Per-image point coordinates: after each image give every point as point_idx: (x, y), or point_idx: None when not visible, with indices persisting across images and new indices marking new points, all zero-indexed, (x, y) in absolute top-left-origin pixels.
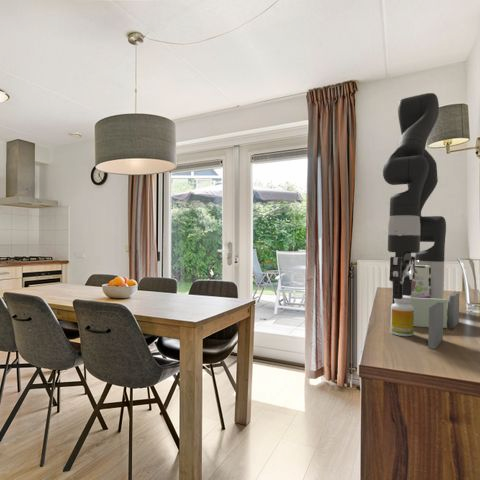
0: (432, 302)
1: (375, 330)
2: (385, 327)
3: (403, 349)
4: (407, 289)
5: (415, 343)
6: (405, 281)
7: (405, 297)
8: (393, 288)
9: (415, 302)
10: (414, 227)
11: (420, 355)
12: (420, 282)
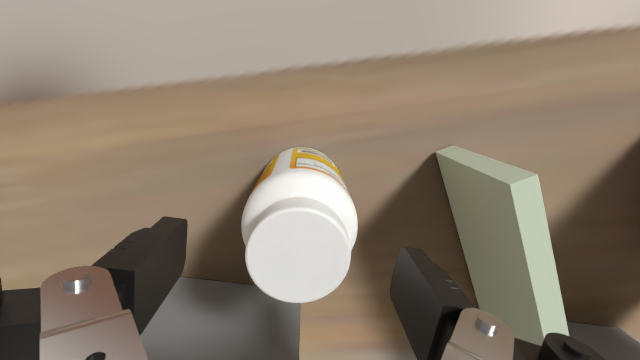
0: (533, 341)
1: (295, 86)
2: (377, 116)
3: (86, 213)
4: (405, 299)
5: (192, 238)
6: (435, 329)
7: (254, 279)
8: (132, 249)
9: (515, 268)
10: None
11: (58, 260)
12: None
